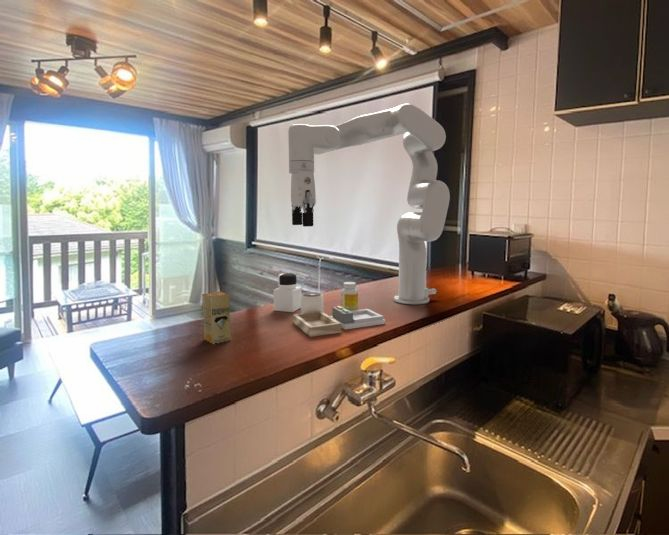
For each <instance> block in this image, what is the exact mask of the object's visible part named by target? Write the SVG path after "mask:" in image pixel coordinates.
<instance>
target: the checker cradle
mask: <svg viewBox="0 0 669 535" xmlns="http://www.w3.org/2000/svg"><path fill="white" fill-rule="evenodd" d="M331 313H332V315H329V316H330V317H332V318H333V319H335V320H336V321H338V322H340V323H341V329H343V330H351V329H357V328H365V327H372V326H377V325H378V326H379V325H385V324H386V319H385V318H384V315H382V314H380V313H377V312H376V311H373V310H372V309H369V308H364V309H362V308H361V309H358V310H353V311H349V310H347V309H345V308H343V307H341V305H336V306H332V312H331Z"/></svg>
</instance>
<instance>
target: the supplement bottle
mask: <svg viewBox="0 0 669 535" xmlns="http://www.w3.org/2000/svg"><path fill="white" fill-rule="evenodd" d="M340 296H341V298H340V299H341V300H340V303H341V304H340V306H341V307H343V308H345V309H347V310H349V311H353V310H359V308H358V306H359V301H358V300H359V291H358V289H357V283H356V282H355V281H345V282H343V288H342V289H341V294H340Z"/></svg>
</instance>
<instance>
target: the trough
mask: <svg viewBox="0 0 669 535" xmlns="http://www.w3.org/2000/svg"><path fill="white" fill-rule="evenodd" d="M292 315H293V316H292V318H293V319H292V321H293V322H292V323H293V324H294V325H295V326H296V327H298V328H299V329H300V330H301V331H303V332H304V333H305V334H306V335H308V336H309V337H310V338H311V337H319V336H325V335H334V334H340V333H342V327H341V323H340V322H338V321H336V320H335V319H333V318H332V317H330V316H331V315H328V314H327V313H325V312H324V311H323V312H322V311H319V312H311V313H303V314H301V313H297V314H292Z"/></svg>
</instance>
